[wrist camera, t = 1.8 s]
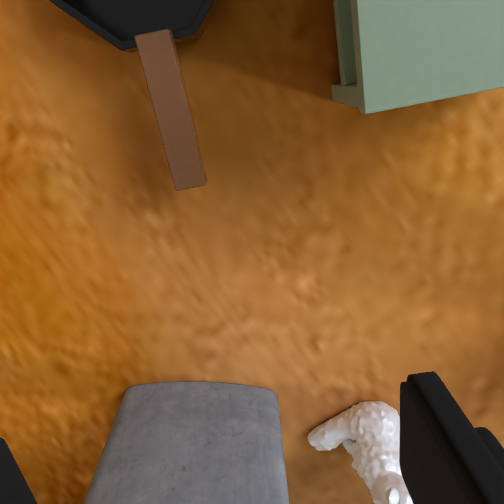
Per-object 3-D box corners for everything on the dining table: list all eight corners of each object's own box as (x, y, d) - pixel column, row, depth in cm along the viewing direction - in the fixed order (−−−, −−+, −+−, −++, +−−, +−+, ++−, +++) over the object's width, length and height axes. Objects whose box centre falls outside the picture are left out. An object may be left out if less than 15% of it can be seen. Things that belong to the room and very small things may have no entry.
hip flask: (125, 409, 43) (37, 656, 25) (122, 378, 42) (26, 617, 23) (276, 412, 44) (301, 656, 25) (279, 381, 42) (307, 618, 24)
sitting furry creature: (303, 434, 45) (322, 550, 34) (345, 377, 42) (382, 484, 31) (374, 461, 47) (415, 580, 36) (420, 409, 44) (480, 520, 33)
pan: (210, -191, 25) (203, -248, 21) (269, 160, 33) (273, 172, 29) (21, -146, 26) (-24, -192, 21) (126, 187, 34) (109, 203, 30)
